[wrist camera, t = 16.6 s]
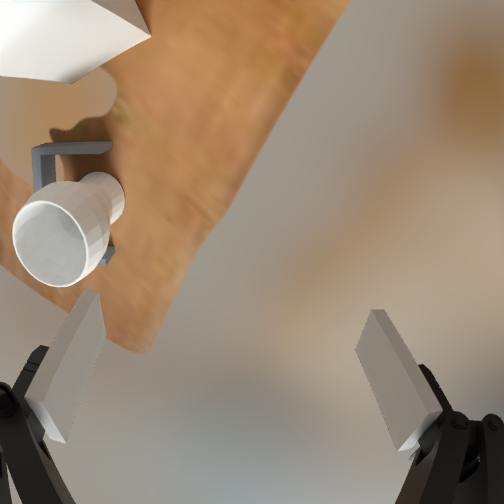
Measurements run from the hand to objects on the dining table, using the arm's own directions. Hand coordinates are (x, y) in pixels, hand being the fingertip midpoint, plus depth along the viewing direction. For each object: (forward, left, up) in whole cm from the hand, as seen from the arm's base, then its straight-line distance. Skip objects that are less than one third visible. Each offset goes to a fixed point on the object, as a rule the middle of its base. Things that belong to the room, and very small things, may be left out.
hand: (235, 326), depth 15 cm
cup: (+4, -18, -29) cm, 34 cm away
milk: (-20, -20, -29) cm, 41 cm away
